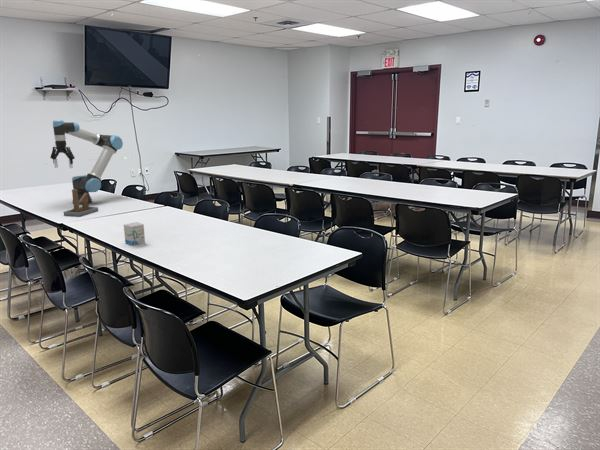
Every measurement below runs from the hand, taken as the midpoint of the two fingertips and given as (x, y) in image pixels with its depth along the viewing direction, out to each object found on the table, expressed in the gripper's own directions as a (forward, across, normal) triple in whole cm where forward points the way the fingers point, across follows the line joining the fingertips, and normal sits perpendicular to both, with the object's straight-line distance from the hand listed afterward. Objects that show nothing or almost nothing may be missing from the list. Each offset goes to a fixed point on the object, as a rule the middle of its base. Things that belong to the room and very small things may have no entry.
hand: (63, 167), depth 361 cm
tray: (+33, +22, -13) cm, 42 cm away
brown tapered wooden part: (+32, +22, -13) cm, 41 cm away
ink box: (+33, +108, -76) cm, 136 cm away
